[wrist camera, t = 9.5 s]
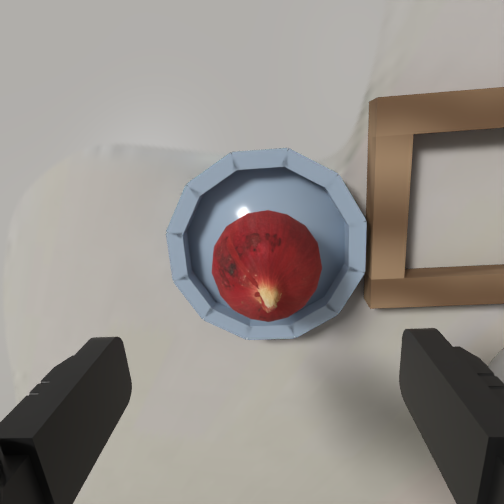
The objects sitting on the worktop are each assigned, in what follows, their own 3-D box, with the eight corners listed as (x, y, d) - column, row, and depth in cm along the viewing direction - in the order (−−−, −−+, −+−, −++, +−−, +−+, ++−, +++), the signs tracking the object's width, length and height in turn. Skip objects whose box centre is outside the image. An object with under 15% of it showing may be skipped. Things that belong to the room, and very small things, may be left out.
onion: (206, 259, 22) (172, 317, 14) (251, 183, 20) (240, 202, 13) (280, 302, 23) (286, 380, 15) (330, 231, 21) (364, 278, 13)
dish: (165, 157, 21) (154, 157, 19) (359, 142, 20) (369, 141, 18) (188, 327, 24) (181, 342, 23) (355, 321, 24) (363, 336, 22)
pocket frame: (369, 101, 19) (377, 97, 18) (647, 79, 18) (681, 72, 17) (363, 298, 23) (370, 308, 22) (596, 288, 22) (620, 299, 20)
